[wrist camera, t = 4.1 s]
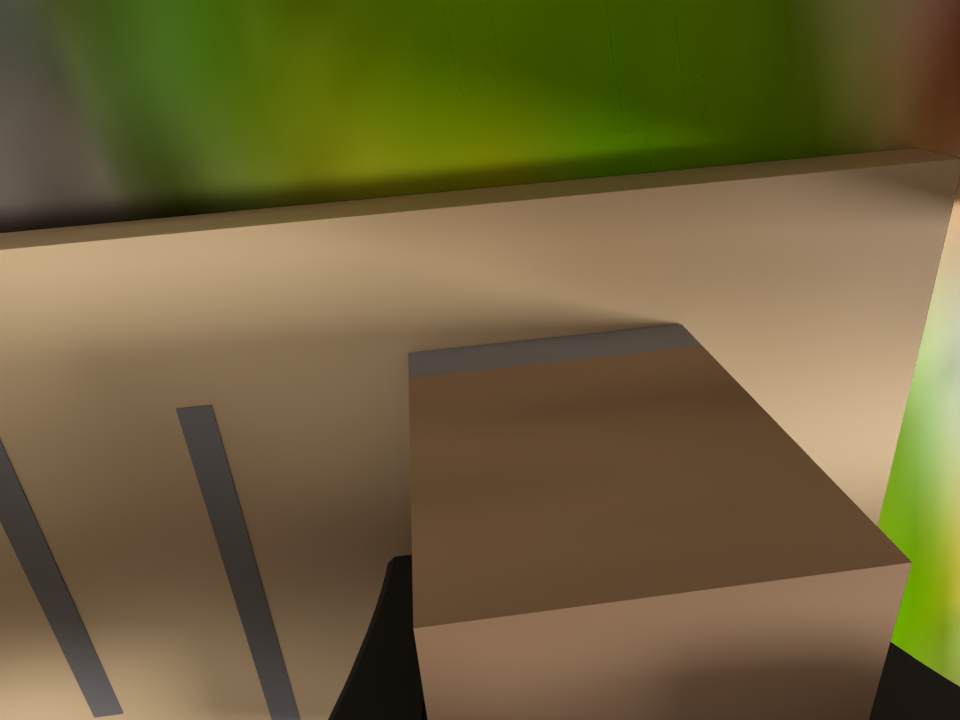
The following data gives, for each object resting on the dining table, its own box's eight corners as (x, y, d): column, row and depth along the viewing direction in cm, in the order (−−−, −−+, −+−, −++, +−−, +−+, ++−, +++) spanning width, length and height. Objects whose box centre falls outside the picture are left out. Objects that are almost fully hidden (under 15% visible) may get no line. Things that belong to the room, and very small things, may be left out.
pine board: (804, 692, 15) (829, 733, 15) (-114, 822, 14) (-149, 876, 13) (914, 148, 10) (965, 159, 9) (-525, 281, 9) (-630, 309, 8)
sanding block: (656, 695, 13) (785, 1026, 9) (455, 724, 13) (483, 1080, 9) (681, 323, 10) (911, 562, 5) (408, 352, 10) (413, 628, 5)
